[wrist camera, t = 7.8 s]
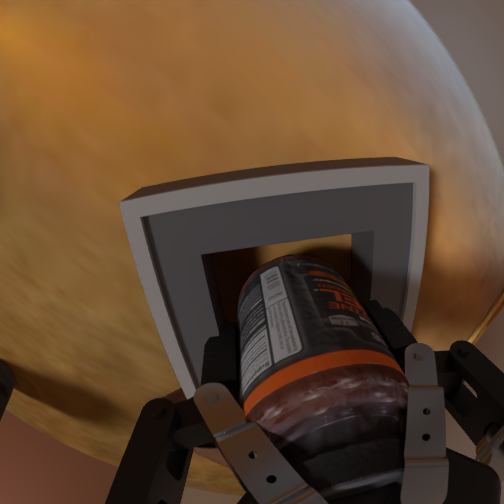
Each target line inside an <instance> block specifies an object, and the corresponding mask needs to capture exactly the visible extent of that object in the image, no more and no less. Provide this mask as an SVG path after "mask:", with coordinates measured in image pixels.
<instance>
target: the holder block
mask: <svg viewBox="0 0 504 504" xmlns="http://www.w3.org/2000/svg"><path fill="white" fill-rule="evenodd" d="M119 204H120V208H121V212H122V216H123V220H124V224H125V228H126V232H127V236H128V239H129V243H130V247H131V250H132V254H133V257H134V260H135V264H136V267H137V270H138V273H139V277H140V280H141V283H142V286H143V289H144V292H145V295H146V298H147V301H148V304H149V307H150V310H151V312H152V315H153V318H154V321H155V323H156V326H157V329H158V331H159V334H160V337H161V339H162V342H163V344H164V347H165V349H166V352H167V354H168V357H169V359H170V362H171V364H172V366H173V369H174V371H175V373H176V376H177V378H178V380H179V383H180V385H181V387H182V389H183V392H184V394H185V396H186V398H187V399H189V398H191V397H193V396H194V393H195V391H196V390H197V389H198V388H199V387H200V385H201V375H202V365H203V355H204V345H205V343H206V342H207V340H208V339H209V337H214V336H219V325H225V324H226V323H225V319H224V314H223V310H222V305H221V301H220V296H219V291H218V287H217V282H216V277H215V272H214V268H213V263H212V258H211V253H215V252H222V251H229V250H236V249H243V248H250V247H257V246H264V245H271V244H278V243H285V242H292V241H299V240H306V239H314V238H321V237H328V236H335V235H342V234H350V233H352V251H351V290H352V292H353V293H354V295H355V296H356V298H357V299H358V301H359V302H360V304H361V303H362V302H366V301H371V300H377V301H378V303H379V304H380V305H381V307H382V308H386V307H387V308H389V309H390V310H392V311H394V312H395V313H396V314H397V316H398V317H399V318H400V320H401V321H402V322H403V323H404V325H405V326H406V327H407V329H408V330H409V331H410V333H411V330H412V326H413V321H414V317H415V312H416V307H417V301H418V296H419V290H420V284H421V277H422V271H423V263H424V255H425V246H426V236H427V224H428V207H429V165H427V164H423V163H419V162H415V161H411V160H407V159H402V158H398V157H381V158H359V159H342V160H329V161H316V162H305V163H295V164H286V165H277V166H268V167H260V168H253V169H245V170H238V171H231V172H225V173H218V174H212V175H206V176H200V177H194V178H189V179H183V180H178V181H173V182H167V183H162V184H157V185H152V186H148V187H143V188H141V189H139V190H137V191H136V192H134V193H133V194H131V195H130V196H128V197H127V198H125V199H124V200H122V201H121V202H119Z"/></svg>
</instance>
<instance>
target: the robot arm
mask: <svg viewBox="0 0 504 504" xmlns="http://www.w3.org/2000/svg"><path fill="white" fill-rule="evenodd" d="M361 306H362V307H363V309H364V310H365V312H366V313H367V315H368V316H369V318H370V319H371V321H372V323H373V324H374V325H375V327H376V329H377V330H378V332H379V333H380V335H381V336H382V338H383V340H384V341H385V343H386V344H387V346H388V348H389V350H390V351H391V353H392V354H393V355H394V357H395V359H396V360H397V362H398V364H399V366H400V368H401V370H402V371H403V373H404V375H405V377H406V378H407V380H408V382H409V384H410V386H409V388H408V396H407V401H406V406H405V409H404V412H403V430H401V431H400V435H399V439H400V440H402V470H401V474H400V476H399V477H398V479H397V480H396V481H395V482H393V483H390V484H387V485H384V486H381V487H378V488H375V489H372V490H368V491H365V492H361V493H358V494H354V495H351V496H347V497H343V498H339V499H334V500H330V501H326V500H325V499H324V498H323V497H322V496H321V495H320V494H319V493H318V492H317V491H316V490H315V489H314V488H312V487H311V486H309V485H308V484H307V483H306V482H305V481H304V480H303V479H302V478H301V477H300V476H299V474H298V473H297V472H296V471H295V470H294V469H293V468H292V466H291V465H290V464H289V463H288V462H287V460H286V459H285V458H284V457H283V456H282V454H281V453H280V452H279V451H278V450H277V448H276V447H275V446H274V445H273V443H272V442H271V441H270V440H269V438H268V437H267V436H266V435H265V433H264V432H263V431H262V430H261V428H260V427H259V426H258V424H257V423H256V422H255V421H250V422H248V423H247V422H246V419H245V413H244V412H243V410H242V409H241V407H240V396H239V357H238V333H237V328H236V324H235V323H233V324H225V325H219V336H214V337H209V339H208V340H207V342H206V343H205V345H204V355H203V365H202V375H201V385H200V387H199V388H198V389H197V390H196V391H195V393H194V396H193V397H191V398H189V399H187V400H184V401H181V402H178V403H174V404H173V403H172V402H171V401H170V400H168V399H165V398H156V399H153V400H151V401H149V402H148V403H147V404H145V406H144V407H143V409H142V411H141V414H140V416H139V418H138V421H137V423H136V426H135V428H134V430H133V433H132V435H131V438H130V440H129V443H128V445H127V448H126V450H125V453H124V455H123V458H122V460H121V463H120V465H119V468H118V471H117V473H116V476H115V478H114V481H113V484H112V486H111V489H110V492H109V494H108V497H107V500H106V502H105V504H180V503H181V499H182V495H183V491H184V486H185V482H186V478H187V474H188V470H189V466H190V462H191V458H192V454H193V450H194V447H197V446H200V445H203V444H206V443H209V442H212V441H214V443H215V445H216V446H217V448H218V450H219V451H220V453H221V455H222V456H223V458H224V459H225V461H226V463H227V464H228V466H229V467H230V469H231V471H232V472H233V474H234V476H235V477H236V479H237V480H238V482H239V484H240V485H241V486H242V488H243V489H244V491H245V492H246V493H245V494H244V496H243V497H242V498H241V499H240V501H239V502H238V503H237V504H500V497H501V482H502V481H503V480H504V373H503V372H502V371H501V370H499V368H497V367H496V366H495V365H494V364H493V363H492V362H491V361H490V360H489V359H488V358H487V357H486V356H485V355H484V354H482V353H481V352H480V351H479V350H478V349H477V348H476V347H475V346H474V345H473V344H471V343H470V342H467V341H463V340H460V341H456V342H454V343H453V344H452V345H451V347H450V350H449V351H433V349H432V348H431V347H430V346H428V345H426V344H423V343H418V342H417V341H416V339H415V338H414V337H413V335H412V334H411V333H410V331H409V330H408V329H407V327H406V326H405V325H404V323H403V322H402V321H401V320H400V318H399V317H398V316H397V314H396V313H395V312H394V311H392V310H390V309H389V308H387V307H386V308H382V307H381V305H380V304H379V303H378V301H377V300H371V301H366V302H362V303H361ZM464 381H466V382H467V383H468V384H469V385H470V386H471V387H472V388H473V390H475V392H476V394H477V398H476V397H475V396H474V395H473V393H472V392H471V391H470V390H469V389H468V388H467V387H466V386H465V385H464V384H463V383H464ZM445 408H446V409H447V410H448V412H449V413H450V414H451V415H452V416H453V418H454V419H455V420H456V421H457V423H458V424H459V425H460V426H461V428H462V429H463V430H464V431H465V433H466V434H467V435H468V436H469V437H470V439H471V440H472V442H473V443H474V444H475V445H476V458H475V459H476V460H474V459H472V458H469V457H467V456H464V455H462V454H460V453H458V452H455V451H453V450H451V449H449V448H447V447H446V424H445V423H446V422H445Z"/></svg>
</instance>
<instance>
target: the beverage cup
mask: <svg viewBox="0 0 504 504" xmlns="http://www.w3.org/2000/svg"><path fill="white" fill-rule="evenodd" d="M15 384H16V380H15V378H14V376H13V374H12V373H11V371H10V370H9V369H8V367H7V366H6V365H5V364H4V363H3V362H2V361H0V420H1V418H2V415H3V413H4V410H5V408H6V406H7V404H8V401H9V399H10V397H11V394H12V391H13V388H14V386H15Z"/></svg>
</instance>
